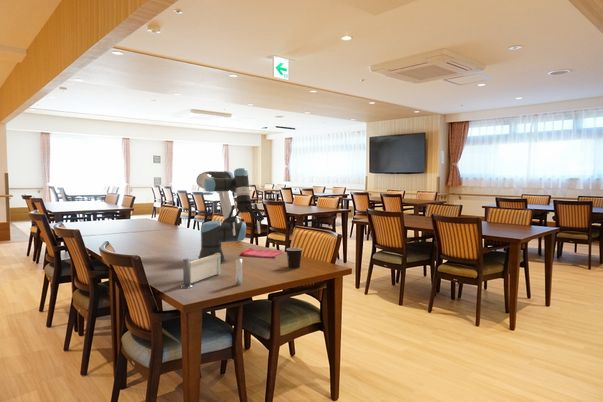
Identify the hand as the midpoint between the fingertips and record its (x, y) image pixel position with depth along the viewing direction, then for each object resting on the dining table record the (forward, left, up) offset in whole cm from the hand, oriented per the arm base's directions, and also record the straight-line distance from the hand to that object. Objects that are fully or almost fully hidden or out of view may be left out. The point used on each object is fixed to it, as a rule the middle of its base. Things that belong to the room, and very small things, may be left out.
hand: (246, 234), depth 213 cm
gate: (-5, -29, -19) cm, 34 cm away
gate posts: (+5, -32, -19) cm, 38 cm away
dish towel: (-17, +36, -20) cm, 45 cm away
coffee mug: (+18, +19, -19) cm, 33 cm away
